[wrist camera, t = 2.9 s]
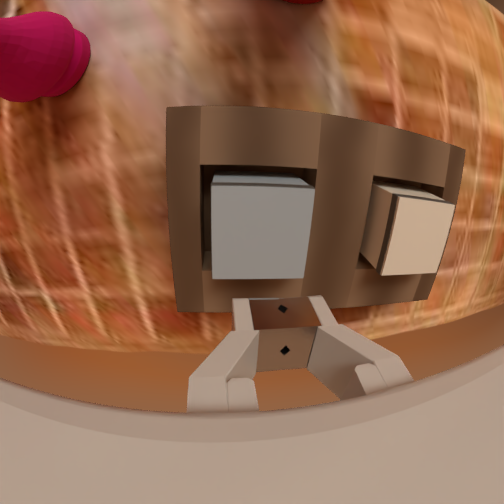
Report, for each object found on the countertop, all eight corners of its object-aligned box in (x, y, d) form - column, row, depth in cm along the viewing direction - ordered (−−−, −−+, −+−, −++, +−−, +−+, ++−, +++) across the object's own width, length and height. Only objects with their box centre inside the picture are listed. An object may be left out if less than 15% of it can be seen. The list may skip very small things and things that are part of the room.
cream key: (417, 186, 20) (455, 204, 15) (404, 245, 22) (436, 273, 18) (363, 178, 19) (399, 196, 15) (352, 245, 22) (380, 276, 17)
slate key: (294, 172, 19) (316, 188, 14) (287, 244, 21) (303, 278, 17) (214, 170, 18) (210, 185, 14) (214, 244, 21) (211, 279, 16)
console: (429, 141, 20) (465, 149, 16) (402, 273, 26) (427, 299, 22) (180, 111, 18) (166, 107, 14) (184, 277, 24) (177, 311, 20)
